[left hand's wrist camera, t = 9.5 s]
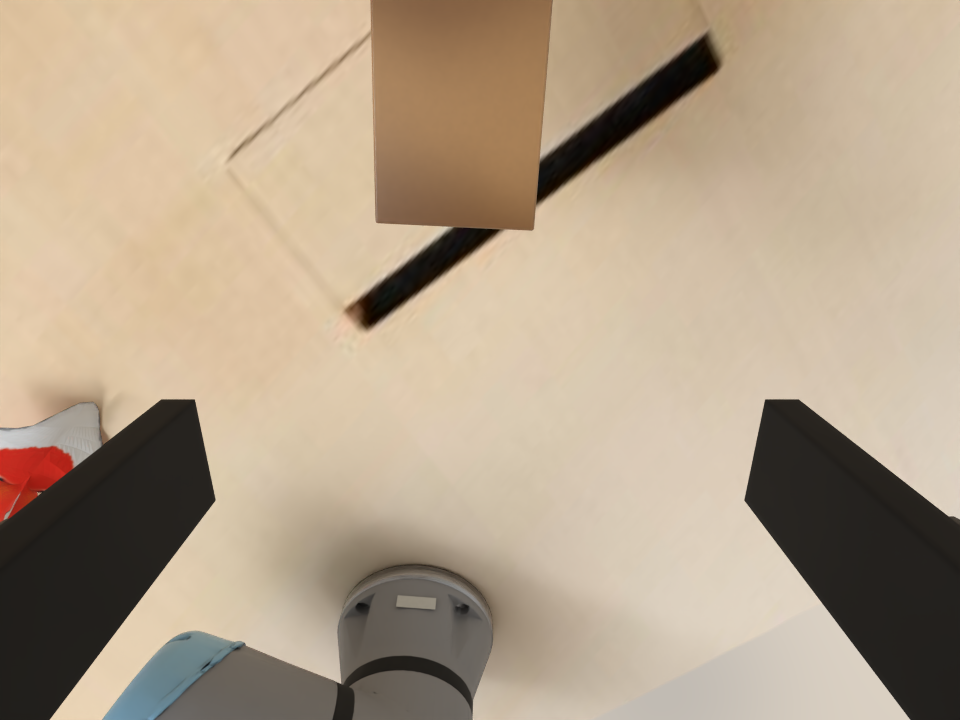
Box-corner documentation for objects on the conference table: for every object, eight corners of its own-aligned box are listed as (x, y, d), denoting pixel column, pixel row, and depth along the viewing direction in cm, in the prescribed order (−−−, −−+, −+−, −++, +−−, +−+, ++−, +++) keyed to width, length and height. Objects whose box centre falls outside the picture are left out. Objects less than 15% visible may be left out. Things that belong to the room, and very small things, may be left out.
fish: (-126, 463, 43) (-175, 546, 36) (58, 346, 47) (49, 398, 39) (-1, 531, 50) (-21, 613, 42) (152, 424, 53) (159, 481, 46)
